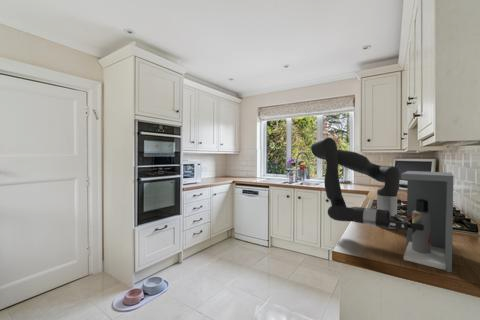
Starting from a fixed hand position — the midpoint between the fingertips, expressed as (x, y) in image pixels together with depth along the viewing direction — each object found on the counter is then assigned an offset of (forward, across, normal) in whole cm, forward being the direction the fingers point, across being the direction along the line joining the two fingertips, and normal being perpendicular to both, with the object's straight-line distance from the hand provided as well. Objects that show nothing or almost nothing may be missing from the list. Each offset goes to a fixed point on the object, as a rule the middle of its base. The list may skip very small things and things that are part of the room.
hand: (424, 225), depth 88 cm
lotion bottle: (-1, 0, +10) cm, 10 cm away
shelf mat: (0, 0, +12) cm, 12 cm away
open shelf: (+1, 0, +12) cm, 12 cm away
